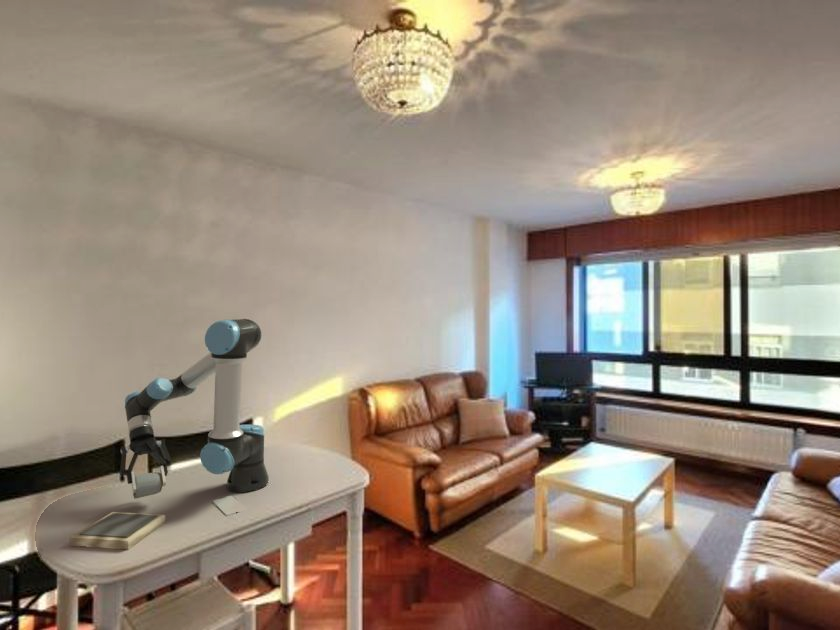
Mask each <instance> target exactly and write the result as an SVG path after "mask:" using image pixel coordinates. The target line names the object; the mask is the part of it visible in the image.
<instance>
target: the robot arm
mask: <svg viewBox="0 0 840 630" xmlns="http://www.w3.org/2000/svg"><path fill="white" fill-rule="evenodd" d="M261 340H262V331H261V327H260V326H259V324H258V323H257V322H255V321H253V320H252V319H249V318H241V319H228V318H227V319H223V320H217V321H215V322H213V323H212V324H210V326H209V327H208V328H207V330H206V331H205V334H204V343H205V347H206V348H207V350H208V351H209V353H207V354H206V355H205V356H204V357H202V358H200V360H198V361H197V362H196V363H195V364H193V365H191V366H190V367H189V368H188V369H187V370H185V371H184V372H182V373H181V374H180V375H178V376H177V377H175V378H172V379H168V378H163V377H157V378H155V379H154V380H153V381H151V382H150V383H148V385H147V386H145V387H144V389H143V390H141V391H134V392H132V393H129V394H128V395H127V396H125V399H124V404H125V405H124V409H125V414H126V415H125V416H126V422H127V427H128V429H127V430H128V436H129V443H130V444H129V445H126V446H125V445H122V446H120V454H121V461H120V463H121V464H120V468H119V469H120V470H119V475H120V476H126V478H127V479H126V480H127V484H128V485H131V490H132V494H133V493H136V483H135V475H136V474H135V471H134V470H133V469H134V467H135V464H136V462H137V459H138V457H139V456H143V455H148V454H149V455H150V456H151V457H152V458H153V459H154V460H155V461H156V462H157V464H158V465H159V466H160V467H159V473H161V475H162V487H166V484H167V481H166V477H167V476H168V473H169V472H168V467H169V466H171V464H172V457H171V456H170V453H169V451H168V448H167V445H166V439H165V438H162V439H161V440H157V439H156V437H155V433H154V428H153V421H152V415H151V411H152V410H153V409H155V408H156V407H157V406H158V405H159V404H161V403H163V402H168V401H170V400H173V399H177V398H178V399H179V398H182V397H187V396H190V395H192V394H194V392H196V390H197V387H198V386H200V385H202V383H204V382H205V381H206V380H208V379H209V378H210V377H212V376H213V375H214V376H215V377H214V396H213V398H214V401H213V402H214V403H213V423H212V425H213V428H212V429H211V430H210V431H209V433H208V434H207V444H205V445H204V446H203V447H202V448H201V450H200V455H199V457H200V461H201V462H200V463H201V465H202V466H203V467H204V468H205V470H207V472H209V473H211V474H213V475H223V474H226V473H228V472H229V475H228V476H227V479H226V488H227V490H229V491H231V492H234V493H246V492H247V491H249V492H253V491H252V490H254V491H257V490H256V489H258V490H260V489H259V488H261V487H263V486H265V485H266V484H267V483H268V484H269V482H268V481H269V480H270V479H269V478H270V477H269V474H268V470H267V468H266V466H265V429H264V427H263V426H262V425H259V424H240V419H241V418H240V416H241V415H240V413H241V392H242V390H241V389H242V373H243V372H242V369H243V367H242V366H243V362H244V361H245V360H246V359H247V355H248V353H249V352H251V351H252V350H253V349H255V348H256V347H257V346H258V345H259V343H260V342H261ZM156 445H157V447H159V448H160V451H161V454H162V456H163V457H162V456H161V454H159V452H158V451H157V450H156ZM129 450H130V451H132V452H133V455H132V457H131V460H130V462H129V465H128V468H127V469H126V462H127V461H126V460H127V454H128V453H129ZM268 484H267V485H268ZM267 485H266V486H267ZM266 486H265V487H266ZM263 488H264V487H263ZM261 489H262V488H261ZM247 493H248V492H247Z"/></svg>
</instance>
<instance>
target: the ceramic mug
mask: <svg viewBox="0 0 840 630" xmlns="http://www.w3.org/2000/svg"><path fill="white" fill-rule="evenodd" d="M134 475H135V483H136V493H133V492H132V495H133V498H134V499H135V500H137V499H140V498H145V497H148V496H152V495H157V494H159V493H160V492H161V491H162V489H163V486H162V475H161V473H160V471H159V472H155V471H154V472H148V473H142V474H134Z"/></svg>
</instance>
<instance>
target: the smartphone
mask: <svg viewBox="0 0 840 630" xmlns="http://www.w3.org/2000/svg"><path fill="white" fill-rule="evenodd" d="M237 500H238V499H237V498H236V497H235V496H234V495H232V494H231V495H227V496H223V497H219V498H215V499H213V500H212V501H211V503H212V502H213V503H212V504H213V505H214V506H215V507H216V506H217V507H218V508H219V509H220V510H221V511H222V512H223V513H224V514H225V515H229V516H231V515H230V514H232V513H230V512H229V510H228V509H231V506H233V505H232V504H234V503H235V502H234V501H236V502H237ZM217 507H216V508H217ZM218 508H217V509H218ZM219 509H218V510H219ZM224 509H225V510H227V511H228V512H225V510H224ZM220 510H219V511H220ZM221 511H220V512H221ZM222 512H221V513H222ZM223 513H222V514H223ZM224 514H223V515H224ZM225 515H224V516H225ZM232 515H233V514H232Z"/></svg>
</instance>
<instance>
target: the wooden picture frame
mask: <svg viewBox="0 0 840 630" xmlns="http://www.w3.org/2000/svg"><path fill="white" fill-rule="evenodd" d="M165 523H166V514H155V513H140V512H139V513H137V512H122V511H121V512H119V511H112V512H110V513H108V514H107V515H105V516H103V517H102V518H100V519H98V520H97V521H95V522H94V523H91V524H90V525H88V526H87V527H85V528H83V529H82V530H80V531H78V532H77V533H75V534H73V535H72V536H70V537H69V546H70V545H72V546H71V547H74V546H73V545H76V546H75V547H79V546H86V547H85V548H94V549H95V548H98V549H114V550H126V551H127V550H131V549H132V547H134V546H135V545H137V544H138V543H140V542H141V541H142V540H144V539H145V538H146V537H148V536H149V535H150V534H152V533H153V532H154V531H156V530H157V529H159V528H160V527H161V526H163V525H164V524H165Z"/></svg>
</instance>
